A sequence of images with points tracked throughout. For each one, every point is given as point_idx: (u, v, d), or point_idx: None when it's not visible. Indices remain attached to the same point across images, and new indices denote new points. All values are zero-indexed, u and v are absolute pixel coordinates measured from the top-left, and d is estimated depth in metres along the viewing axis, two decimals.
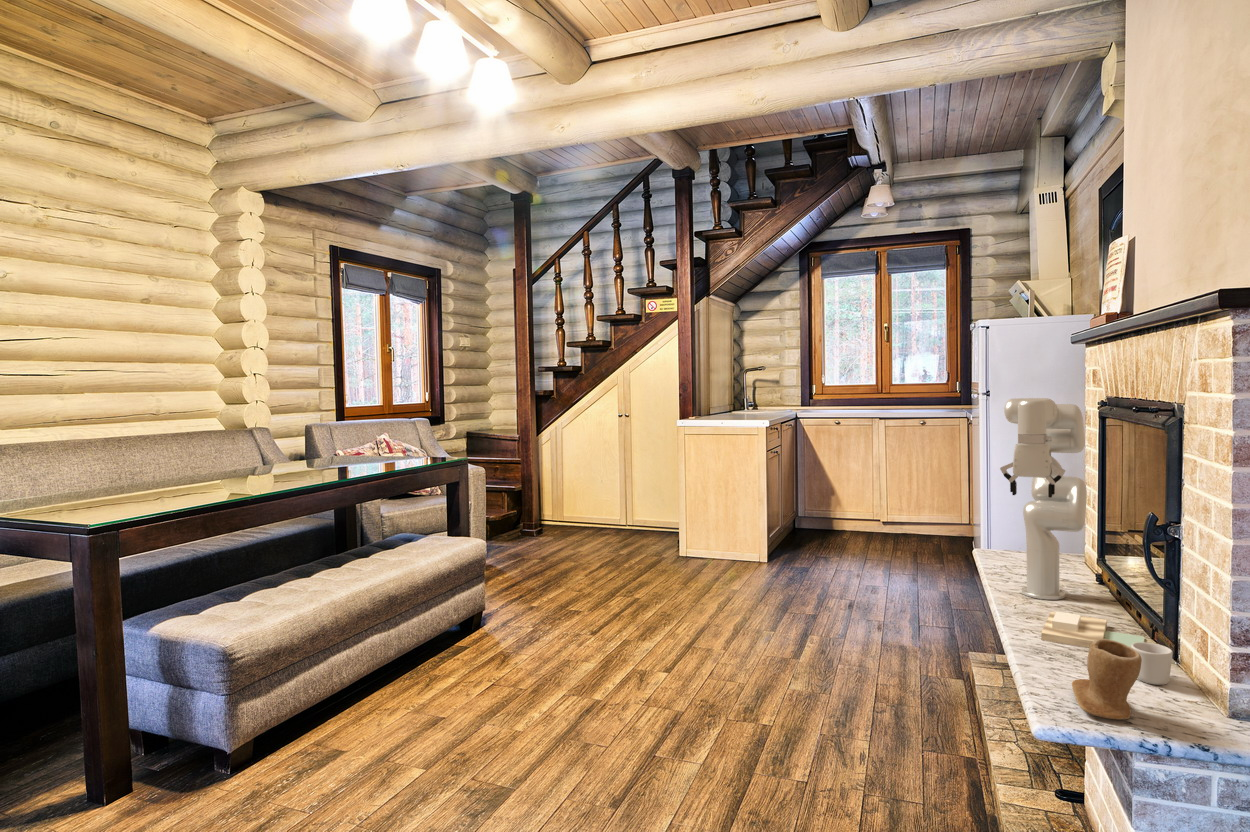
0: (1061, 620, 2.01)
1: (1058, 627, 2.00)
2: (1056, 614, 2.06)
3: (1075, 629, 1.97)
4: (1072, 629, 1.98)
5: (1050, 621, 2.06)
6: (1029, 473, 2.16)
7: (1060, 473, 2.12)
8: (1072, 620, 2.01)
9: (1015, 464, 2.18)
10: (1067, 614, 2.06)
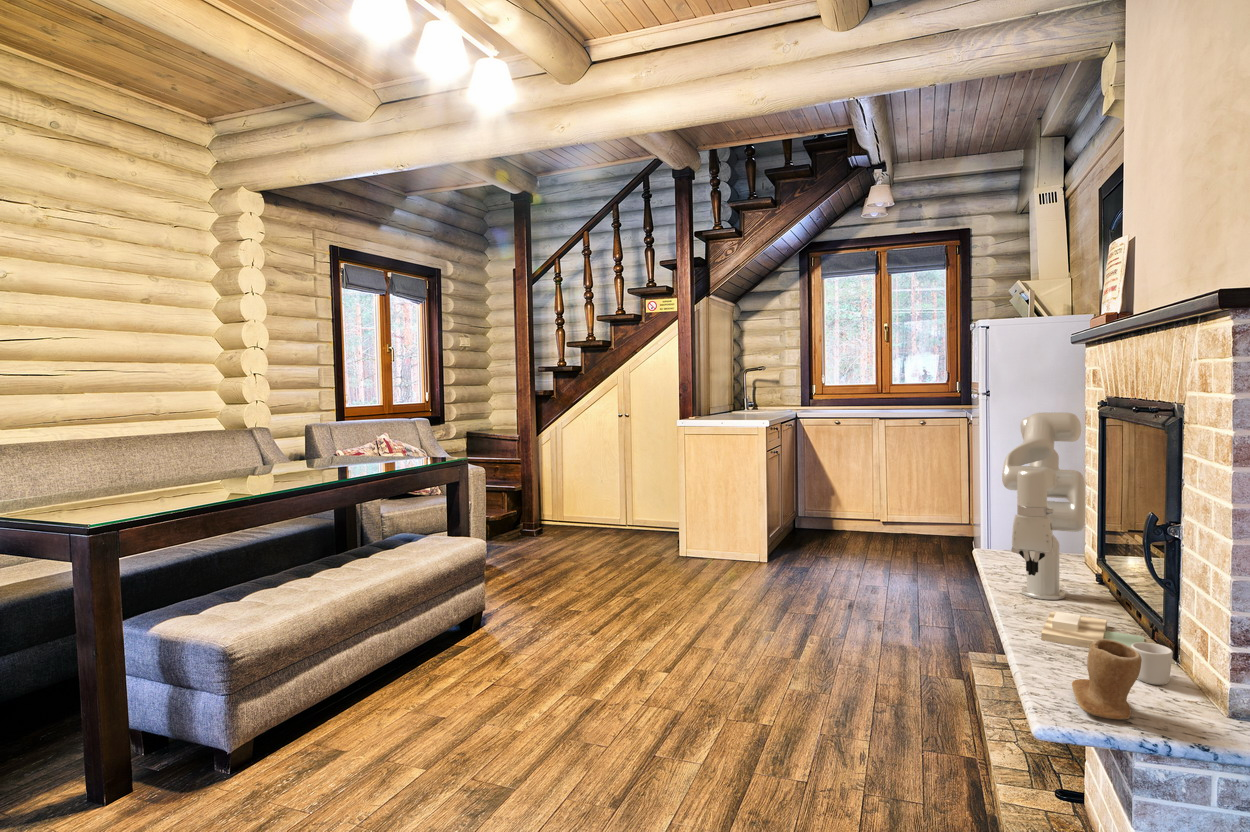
0: (1061, 620, 2.01)
1: (1058, 627, 2.00)
2: (1056, 614, 2.06)
3: (1075, 629, 1.97)
4: (1072, 629, 1.98)
5: (1050, 621, 2.06)
6: (1029, 546, 2.06)
7: (1047, 553, 2.04)
8: (1072, 620, 2.01)
9: (1014, 536, 2.08)
10: (1067, 614, 2.06)
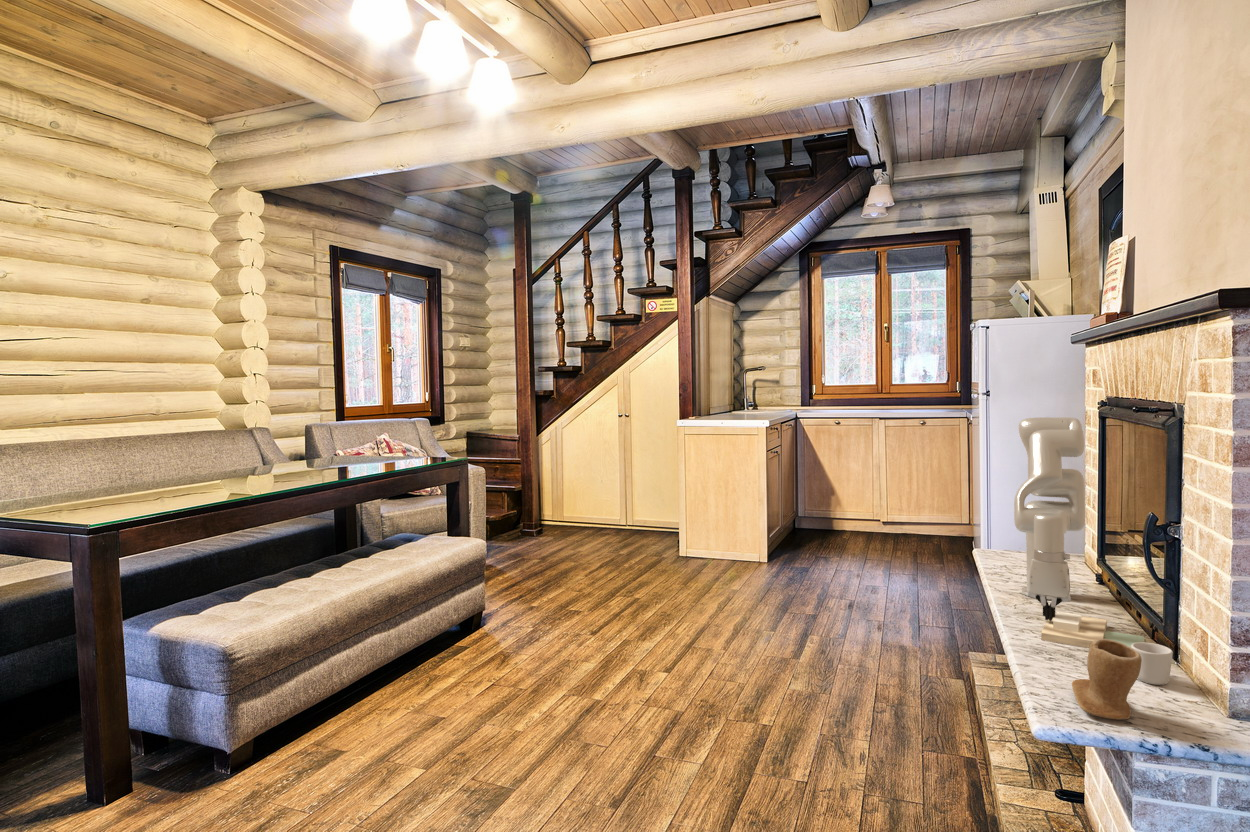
0: (1061, 620, 2.01)
1: (1059, 627, 2.00)
2: (1057, 614, 2.06)
3: (1076, 629, 1.97)
4: (1073, 629, 1.98)
5: (1050, 621, 2.06)
6: (1046, 591, 2.04)
7: (1064, 599, 2.02)
8: (1073, 620, 2.01)
9: (1031, 581, 2.06)
10: (1068, 614, 2.06)
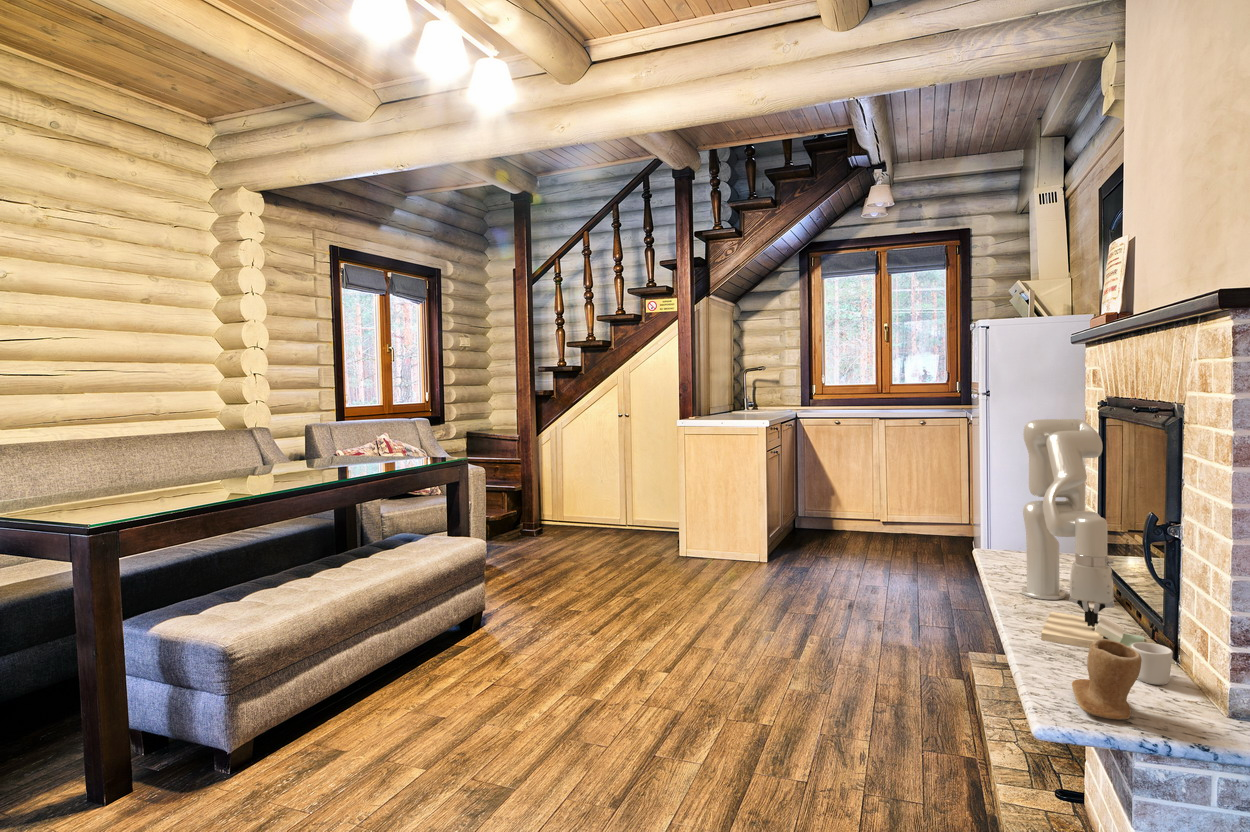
0: (1106, 627, 1.95)
1: (1101, 633, 1.94)
2: (1101, 618, 1.99)
3: (1117, 641, 1.91)
4: (1114, 640, 1.92)
5: (1050, 621, 2.06)
6: (1089, 597, 1.98)
7: (1107, 605, 1.96)
8: (1117, 631, 1.94)
9: (1072, 586, 2.00)
10: (1111, 622, 1.99)
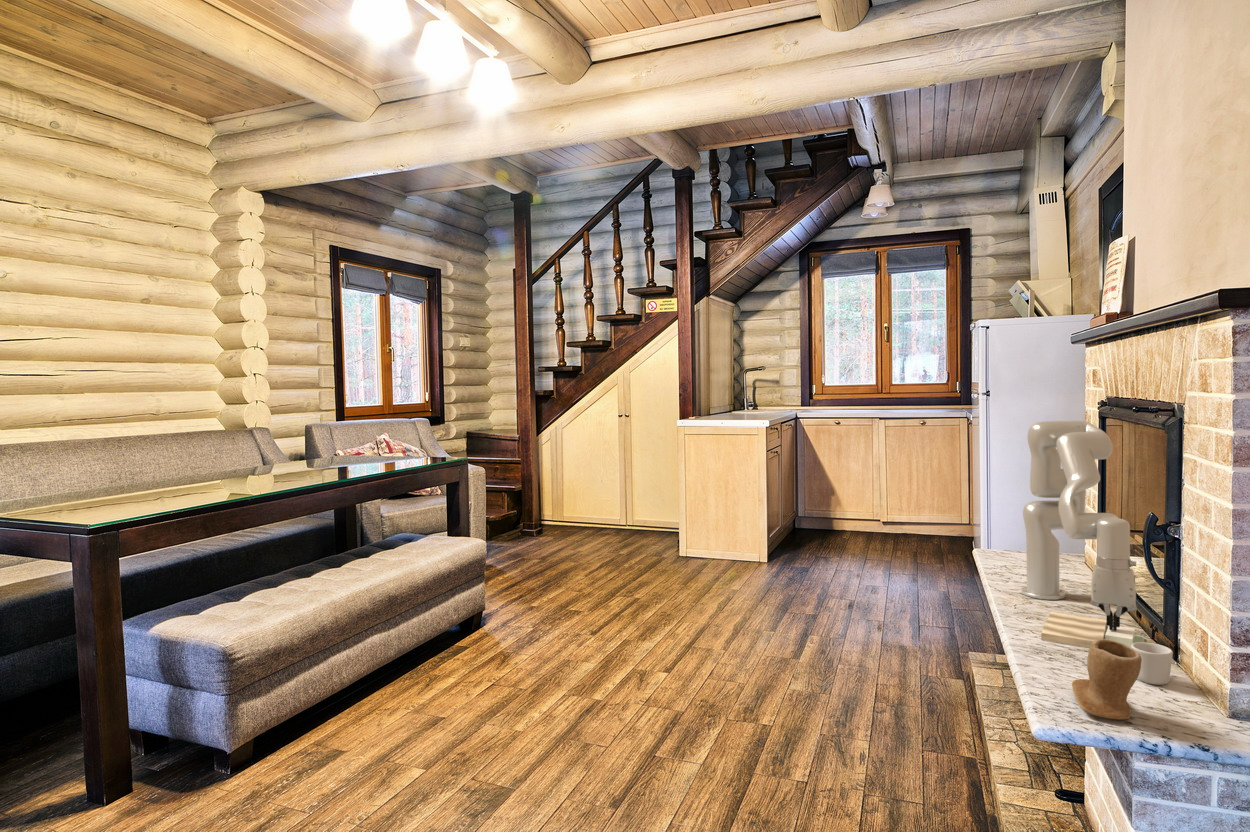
0: (1114, 634, 1.93)
1: None
2: None
3: (1130, 644, 1.90)
4: (1127, 644, 1.90)
5: (1050, 621, 2.06)
6: (1111, 600, 1.95)
7: (1130, 608, 1.93)
8: (1126, 634, 1.93)
9: (1094, 589, 1.97)
10: (1121, 628, 1.98)
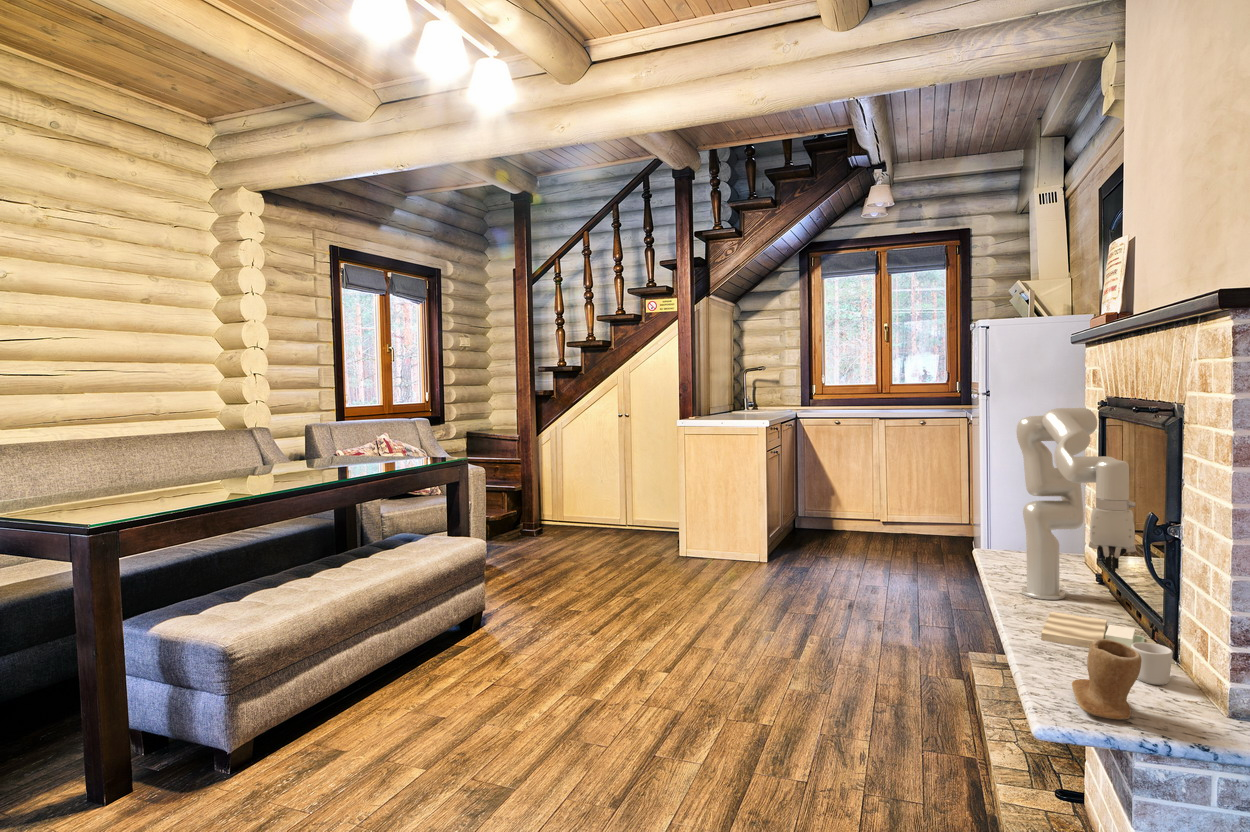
0: (1114, 634, 1.93)
1: None
2: (1109, 627, 1.98)
3: (1130, 644, 1.90)
4: (1127, 644, 1.90)
5: (1050, 621, 2.06)
6: (1109, 542, 1.94)
7: (1129, 549, 1.93)
8: (1126, 634, 1.93)
9: (1093, 531, 1.96)
10: (1121, 628, 1.98)
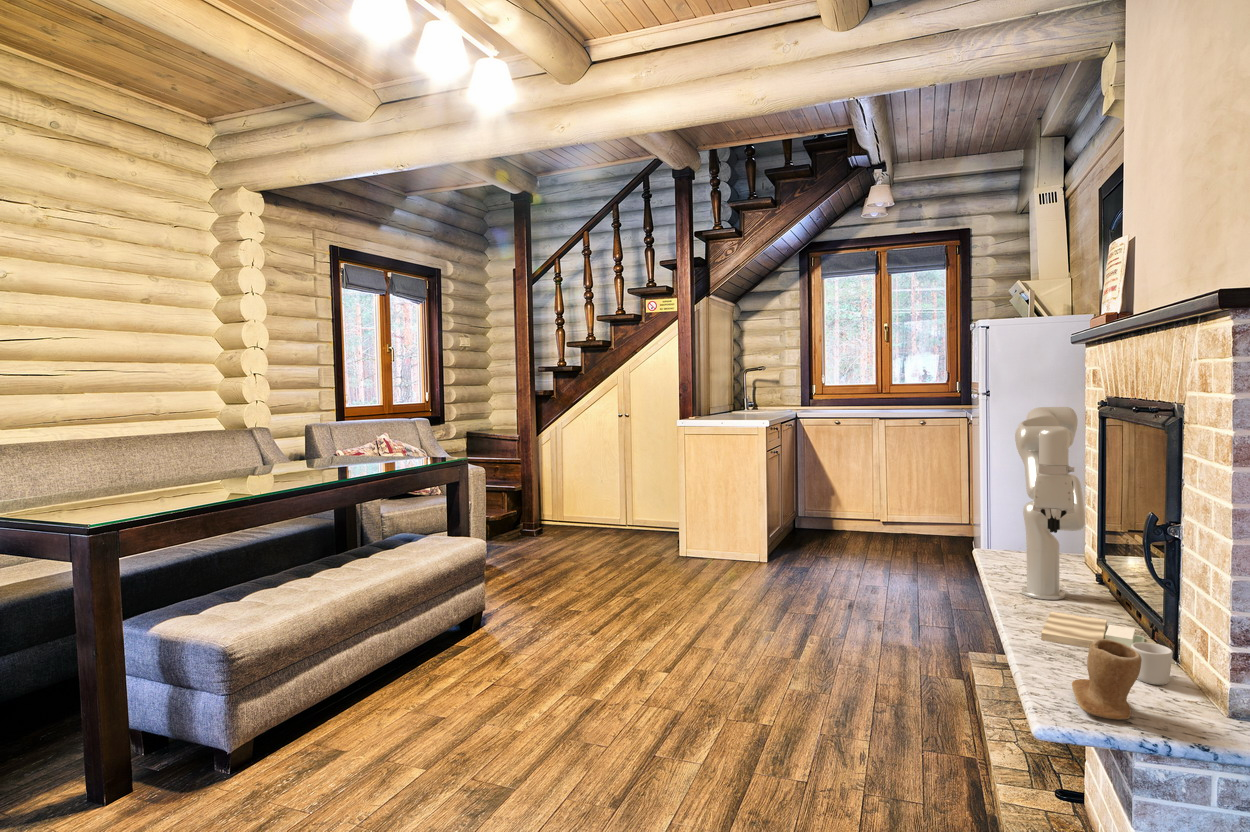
0: (1114, 634, 1.93)
1: None
2: (1109, 627, 1.98)
3: (1130, 644, 1.90)
4: (1127, 644, 1.90)
5: (1050, 621, 2.06)
6: (1051, 504, 2.09)
7: (1068, 511, 2.08)
8: (1126, 634, 1.93)
9: (1036, 495, 2.11)
10: (1121, 628, 1.98)
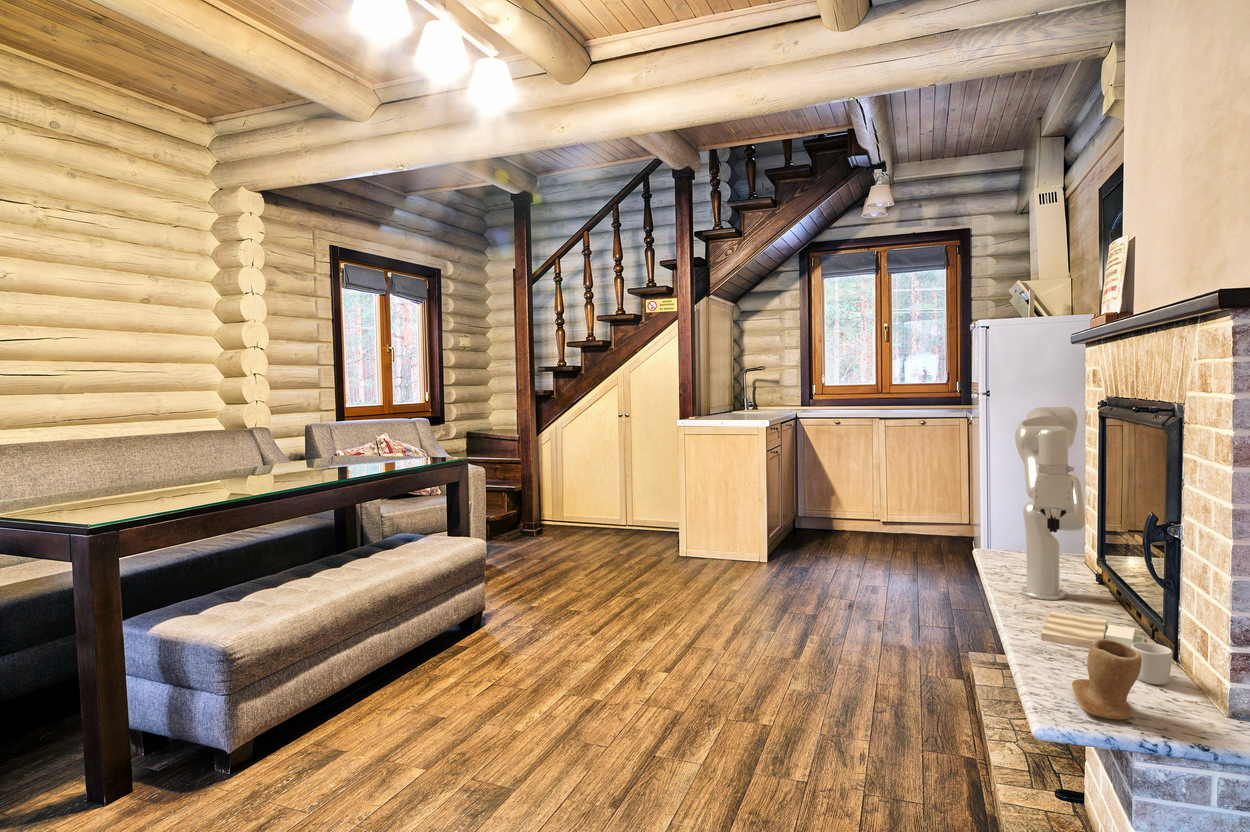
0: (1114, 634, 1.93)
1: None
2: (1109, 627, 1.98)
3: (1130, 644, 1.90)
4: (1127, 644, 1.90)
5: (1050, 621, 2.06)
6: (1051, 504, 2.09)
7: (1068, 510, 2.08)
8: (1126, 634, 1.93)
9: (1036, 495, 2.11)
10: (1121, 628, 1.98)
